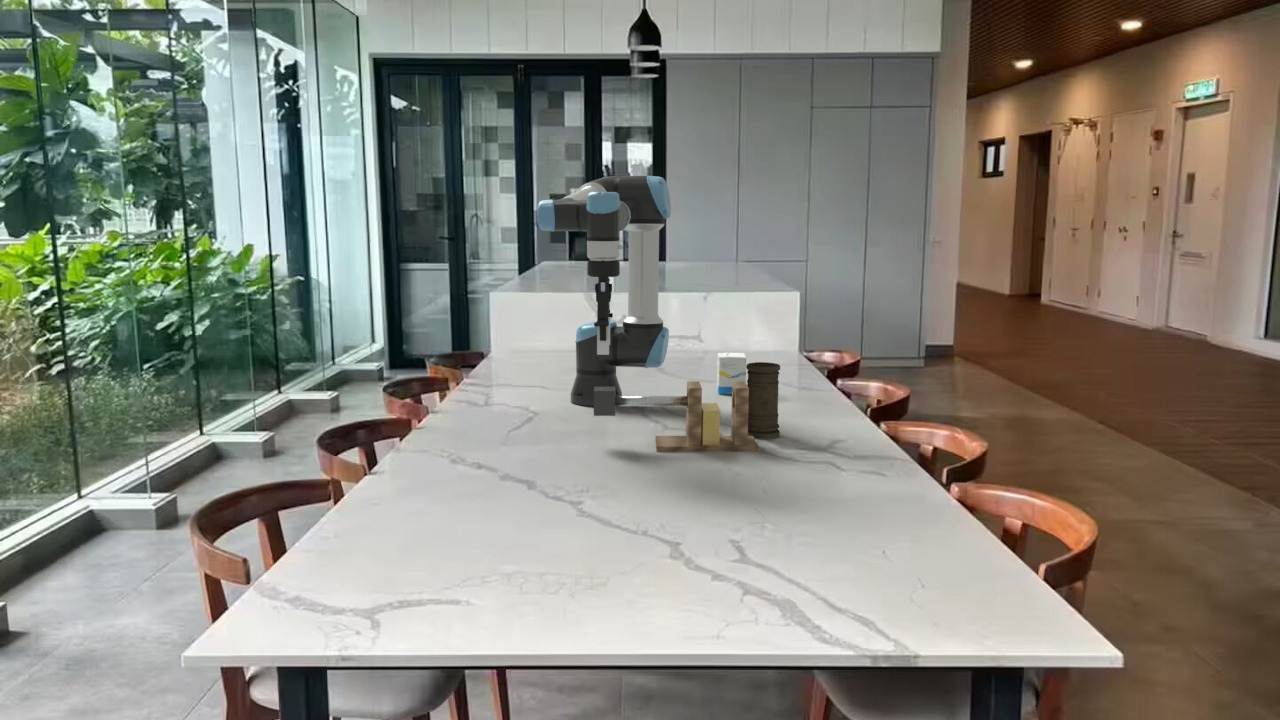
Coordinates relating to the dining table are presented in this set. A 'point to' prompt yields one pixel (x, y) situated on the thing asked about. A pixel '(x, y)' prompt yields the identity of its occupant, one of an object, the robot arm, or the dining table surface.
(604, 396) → the shaft
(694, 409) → the bearing rig
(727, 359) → the ink box
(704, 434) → the spacer
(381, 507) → the dining table surface
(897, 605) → the dining table surface
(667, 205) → the robot arm
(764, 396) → the container
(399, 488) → the dining table surface
